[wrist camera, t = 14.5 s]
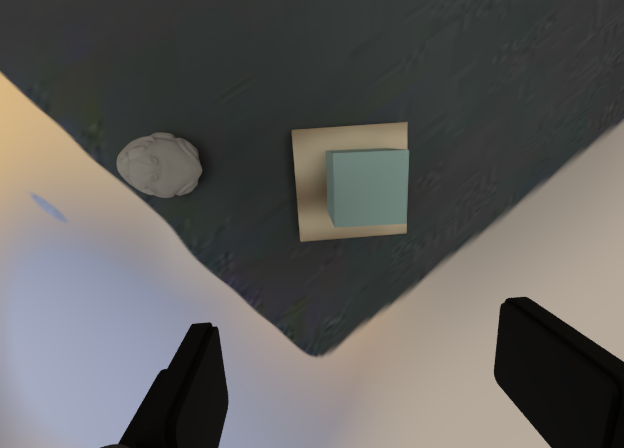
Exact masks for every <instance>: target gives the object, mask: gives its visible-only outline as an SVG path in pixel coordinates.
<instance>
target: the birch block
mask: <svg viewBox="0 0 624 448" xmlns="http://www.w3.org/2000/svg"><path fill="white" fill-rule="evenodd" d="M292 142H293V155H294V167H295V180H296V192H297V205H298V217H299V230H300V242H303V241H316V240H328V239H340V238H353V237H365V236H377V235H390V234H402V233H407V223H406V224H393V225H374V226H355V227H336V228H335V227H334V225H333V223H332V221H331V218H330V216H329V214H328V211H327V175H326V150H349V149H372V148H395V149H405V150H407V122H401V123H387V124H372V125H357V126H343V127H328V128H313V129H299V130H292Z"/></svg>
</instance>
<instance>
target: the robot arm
mask: <svg viewBox="0 0 624 448" xmlns="http://www.w3.org/2000/svg"><path fill="white" fill-rule="evenodd" d="M494 376H495V379H496V381H497V383H498V385H499V386H500V387H501V388H502V389H503V391H504V392H505V393H506V394H507V395H508V396H509V398H510V399H511V400H512V401H513V402H514V404H515V405H516V406H517V407H518V408H519V410H520V411H521V412H522V413H523V414H524V416H525V417H526V418H527V419H528V420H529V421H530V423H531V424H532V425H533V426H534V428H535V429H536V430H537V431H538V432H539V434H540V435H541V436H542V437H543V438H544V440H545V441H546V442H547V443H548V444H549V445H550V447H551V448H624V362H623V361H622V360H620V359H619V358H617V357H616V356H614V355H612V354H611V353H610V352H608V351H607V350H605V349H604V348H602V347H601V346H599V345H598V344H596V343H595V342H593V341H592V340H590V339H589V338H587V337H586V336H584V335H583V334H581V333H580V332H578V331H577V330H575V329H574V328H573V327H571V326H570V325H568V324H567V323H565V322H563V321H562V320H561V319H559V318H557V317H556V316H555V315H553V314H552V313H550V312H549V311H547V310H546V309H544V308H543V307H541V306H540V305H538V304H537V303H535V302H534V301H532V300H531V299H529V298H527V297H516V298H508V299H506V300H505V302H504V303H503V304H501V308H500V315H499V326H498V335H497V345H496V356H495V365H494ZM227 409H228V391H227V385H226V378H225V371H224V364H223V358H222V351H221V344H220V337H219V330H218V328H217V327H212V324H211V323H197V324H192V325H191V326H190V328H189V330H188V332H187V334H186V336H185V337H184V339H183V341H182V343H181V345H180V347H179V349H178V350H177V352H176V354H175V356H174V358H173V359H172V361H171V363H170V365H169V367H168V368H167V369H164V370H161V371H160V373H159V374H158V375H157V377H156V379H155V381H154V382H153V384H152V386H151V388H150V389H149V391H148V393H147V395H146V396H145V398H144V400H143V402H142V403H141V405H140V407H139V408H138V410H137V412H136V414H135V416H134V417H133V419H132V421H131V422H130V424H129V426H128V428H127V429H126V431H125V433H124V435H123V436H122V438H121V440H120V442H119V443H118V444H114V445H108V446H104V447H101V448H218V447H219V442H220V438H221V434H222V430H223V426H224V422H225V418H226V413H227Z"/></svg>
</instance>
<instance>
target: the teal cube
mask: <svg viewBox="0 0 624 448" xmlns="http://www.w3.org/2000/svg"><path fill="white" fill-rule="evenodd" d="M408 168H409V150H405V149H395V148H372V149H349V150H326V175H327V211H328V214H329V216H330V218H331V221H332V223H333V225H334V227H335V228H336V227H355V226H374V225H393V224H406V223H407V195H408Z"/></svg>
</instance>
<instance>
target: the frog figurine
mask: <svg viewBox="0 0 624 448" xmlns="http://www.w3.org/2000/svg"><path fill="white" fill-rule="evenodd" d="M198 156H199V155H198V150H197V148H196V147H194V146H192V144H191V143H190V142H188V141H187V140H185V139H182V138H175V136H174V135H172V134H170V133H164V132H159V133H154V134H152V135H150V136H146V137H141V138H138V139H136V140H133V141H132V142H130V143H129V144H128V145H127V146H126V147H125V148H124V149H123V150H122V151H121V153H120V154H119V155H118V157H117V169H118V171H119V173H120V175H121V176H122V177H123V178H124V179H125V180H126V181H127V182H128V183H129V184H131V185H132V186H134V187H135V188H136V189H138V190H139V191H141V192H144V193H146V194H149V195H155V196H157V197H162V198H170V197H173V196H175V194H176V195H179V196H181V195H184V194H187V193H190V192H191V191H192V190H193V189H194V188H195V187H196V186H197V185H198V179H199V177H200V175H201V174H202V167H201V164H200V160H199V157H198Z"/></svg>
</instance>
